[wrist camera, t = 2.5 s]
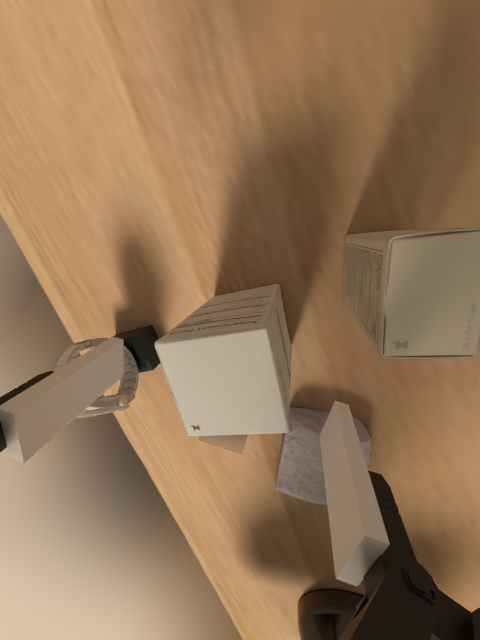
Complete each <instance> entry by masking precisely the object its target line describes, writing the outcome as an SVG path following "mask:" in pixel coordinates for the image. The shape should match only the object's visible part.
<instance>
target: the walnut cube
mask: <svg viewBox="0 0 480 640" xmlns="http://www.w3.org/2000/svg"><path fill="white" fill-rule="evenodd" d="M246 438H247V434H246V435H216V436H199V440H200V441H203V442H206V443H209V444H212V445H215V446H218V447H221V448H224V449H227V450H230V451H233V452H236V453H239V454H242V453H243V449H244V445H245V442H246Z"/></svg>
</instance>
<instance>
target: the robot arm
mask: <svg viewBox="0 0 480 640" xmlns="http://www.w3.org/2000/svg"><path fill="white" fill-rule="evenodd" d="M123 348H124V340H123V339H119V338H116V337H111V338H109V339H108V340H106V341H105V342H103V343H101V344H100V345H98V346H96V347H95V348H93V349H92V350H90V351H88V352H87V353H85V354H83V355H82V356H80V357H79V358H77V359H76V360H74V361H72V362H70V363H69V364H67V365H65V366H64V367H62V368H61V369H59V370H57V371H56V372H53V371H49V372H46V373H43V374H40V375H38V376H36V377H34V378H33V379H31V380H29V381H27V383H24V384H22V385H21V386H19V387H18V388H15V389H14V390H12V391H10V392H9V393H7V394H5V395H4V396H2V397H0V452H1V451H2V450H4V449H5V448H7V452H8V456H9V457H10V458H12V459H15V460H18V461H21V462H23V463H25V461H27V460H28V459H29V458H30V457H31V456H33V455H34V454H35V453H36V452H37V451H38V450H39V449H40V448H42V447H43V446H44V445H45V444H46V443H47V442H48V441H50V440H51V438H53V437H54V436H55V435H56V434H58V433H59V432H60V431H61V430H62V429H63V428H64V427H65V426H66V425H68V424H69V423H70V422H71V421H72V420H74V419H75V418H76V417H77V416H78V415H79V414H80V413H81V412H83V411H84V410H85V409H86V408H87V407H88V406H89V405H91V404H92V403H93V402H94V401H95V400H96V399H97V398H99V397H100V396H101V395H102V394H103V393H104V392H105V391H106V390H108V389H109V388H110V387H111V386H112V385H113V384H114V383H116V382H117V381H118V380H119V379H120V378H121V377H122V376H123ZM320 445H321V454H322V463H323V471H324V480H325V489H326V498H327V507H328V515H329V524H330V533H331V542H332V550H333V559H334V568H335V577H336V579H338V580H341V581H343V582H346V583H349V584H351V585H354V586H358V585H359V584H360V582H361V581H362V580H363V579H364V583H365V588H366V593H367V594H366V595H365V596H364V597H362V596H360V595H357V594H353V593H349V592H345V591H338V590H320V591H314V592H311V593H309V594H307V595H305V596H303V597H302V598H301V599H300V601H299V603H298V628H299V633H300V638H301V640H480V608H478V609H476V610H475V611H473V612H472V613H471V612H470V611H468V610H467V609H465V608H464V607H462V606H461V605H460V604H458V603H457V602H455V601H454V600H452V599H451V598H450V597H448V596H447V595H445V594H444V593H443V592H441V591H440V590H439V589H438V588H437V586H436V584H435V583H434V581H433V579H432V577H431V576H430V575H429V573H428V572H427V571H426V570H425V569H424V568H423V566H421V565H420V564H419V563H418V562H417V560H416V558H415V555H414V552H413V549H412V547H411V544H410V541H409V538H408V536H407V533H406V530H405V527H404V524H403V522H402V519H401V516H400V514H399V511H398V508H397V505H396V503H395V499H394V497H393V494H392V491H391V488H390V486H389V485H388V484H387V482H386V481H385V479H384V478H383V476H382V475H381V474H378V473H375V472H371V471H368V469H367V465H366V462H365V459H364V455H363V452H362V448H361V445H360V442H359V438H358V435H357V431H356V428H355V425H354V421H353V418H352V415H351V411H350V408H349V405H348V404H344V403H341V402H338V401H334V404H333V406H332V408H331V411H330V413H329V415H328V418H327V420H326V422H325V424H324V427H323V429H322V431H321V434H320Z"/></svg>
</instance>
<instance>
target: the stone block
mask: <svg viewBox="0 0 480 640" xmlns="http://www.w3.org/2000/svg"><path fill="white" fill-rule="evenodd" d="M329 413H330V411H317V410H313V409H309V408H297V407H290V410H289V432H287V433H283V439H282V445H281V451H280V457H279V462H278V467H277V475H276V490H277V491H280V492H283V493H284V494H287V495H290V496H292V497H295V498H299V499H301V500H304V501H308V502H312V503H316V504H320V505H327V498H326V489H325V480H324V471H323V463H322V454H321V445H320V434H321V431H322V429H323V427H324V424H325V422H326V420H327V418H328V415H329ZM352 418H353V421H354V425H355V428H356V431H357V435H358V438H359V442H360V445H361V448H362V452H363V455H364V459H365V462H366V465H367V467H368V464H369V461H370V454H371V451H370V450H371V443H372V441H371V438H370V435H369V432H368V430H367V429H366V428H365V426H364V425H363V424H362V423H361V422H360V420H359V419H358V418H355V417H352Z"/></svg>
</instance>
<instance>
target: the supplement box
mask: <svg viewBox="0 0 480 640" xmlns="http://www.w3.org/2000/svg"><path fill="white" fill-rule="evenodd" d="M155 349H156V351H157V354H158V357H159V359H160V362H161V364H162V367H163V370H164V373H165V376H166V378H167V381H168V384H169V386H170V389H171V393H172V395H173V398H174V400H175V403H176V406H177V408H178V411H179V414H180V416H181V419H182V422H183V425H184V427H185V430H186V434H187V435H188V436H216V435H246V434H275V433H287V432H289V410H290V381H291V354H292V346H291V342H290V338H289V334H288V329H287V324H286V318H285V313H284V308H283V302H282V296H281V290H280V284H274V285H269V286H264V287H259V288H254V289H248V290H243V291H238V292H233V293H228V294H223V295H218V296H214V297H213V298H211V299H210V300H209V301H208V302H206V303H205V304H203V305H202V306H201V307H200V308H198V309H197V310H196V311H195V312H193V313H192V314H191V315H190V316H188V317H187V318H186V319H185V320H183V321H182V322H181V323H180V324H178V325H177V326H176V327H175V328H173V329H172V330H171V331H169V332H168V333H167V334H166V335H164V336H163V337H161V338H160V339H158V340H157V341H155Z"/></svg>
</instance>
